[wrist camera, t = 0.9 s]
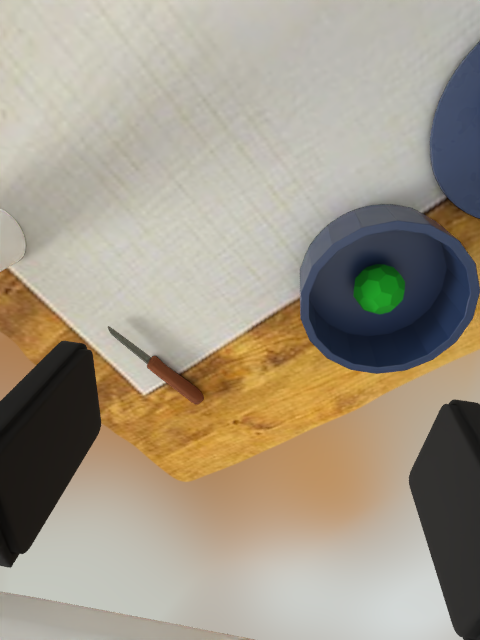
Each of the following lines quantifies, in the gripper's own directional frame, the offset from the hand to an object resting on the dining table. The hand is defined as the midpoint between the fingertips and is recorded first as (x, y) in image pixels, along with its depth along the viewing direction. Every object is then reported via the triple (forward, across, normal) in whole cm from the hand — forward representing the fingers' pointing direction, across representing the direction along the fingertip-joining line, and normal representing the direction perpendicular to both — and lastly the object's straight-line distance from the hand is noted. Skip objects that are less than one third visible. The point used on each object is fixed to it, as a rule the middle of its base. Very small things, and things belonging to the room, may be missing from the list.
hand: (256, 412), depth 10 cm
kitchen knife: (+32, +13, +23) cm, 41 cm away
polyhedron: (+31, -11, +8) cm, 34 cm away
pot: (+31, -11, +8) cm, 34 cm away
